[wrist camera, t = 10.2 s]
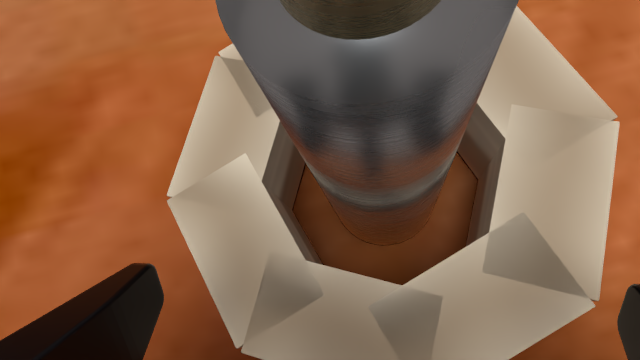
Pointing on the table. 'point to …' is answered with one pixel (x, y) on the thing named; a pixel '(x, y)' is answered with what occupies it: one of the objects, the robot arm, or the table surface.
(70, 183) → the table surface
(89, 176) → the table surface
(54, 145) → the table surface
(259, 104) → the cream octagonal ring
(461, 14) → the bottle
